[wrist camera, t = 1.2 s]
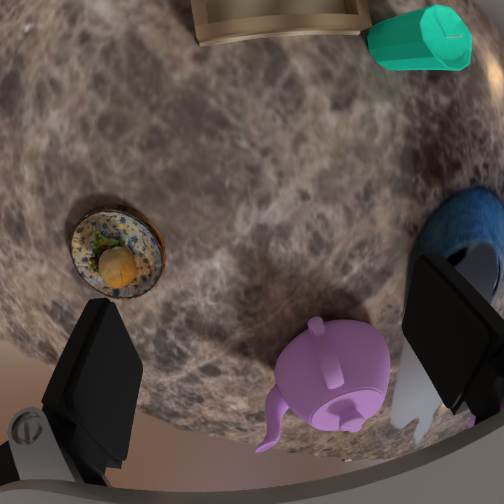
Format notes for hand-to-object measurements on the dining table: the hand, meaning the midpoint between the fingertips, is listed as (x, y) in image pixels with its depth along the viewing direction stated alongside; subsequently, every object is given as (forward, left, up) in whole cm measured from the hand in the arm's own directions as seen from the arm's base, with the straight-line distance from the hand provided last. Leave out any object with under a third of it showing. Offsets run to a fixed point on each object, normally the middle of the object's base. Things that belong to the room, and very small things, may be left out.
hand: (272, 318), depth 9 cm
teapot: (+31, +6, -25) cm, 40 cm away
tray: (-17, +6, -25) cm, 31 cm away
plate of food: (+8, -16, -25) cm, 31 cm away
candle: (-11, +18, -25) cm, 33 cm away
